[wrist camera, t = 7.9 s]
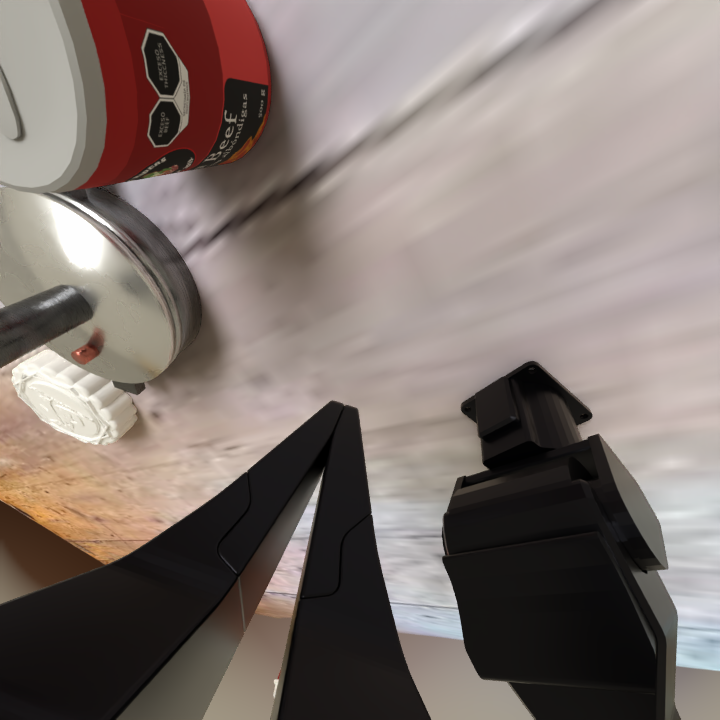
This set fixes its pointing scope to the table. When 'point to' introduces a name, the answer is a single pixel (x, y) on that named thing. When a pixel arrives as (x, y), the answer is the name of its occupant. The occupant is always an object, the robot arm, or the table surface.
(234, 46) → the canned food
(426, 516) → the table surface
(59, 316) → the cooker lid
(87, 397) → the mooncake
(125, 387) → the cooker pot
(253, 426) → the table surface
